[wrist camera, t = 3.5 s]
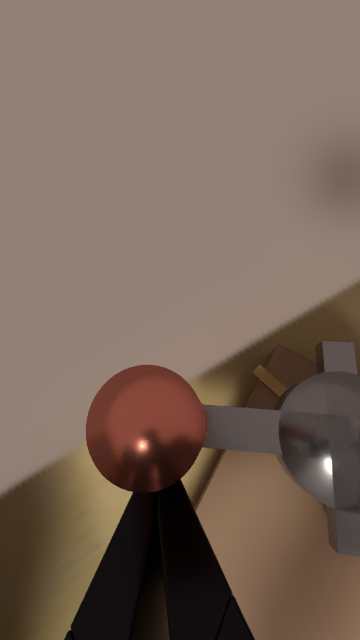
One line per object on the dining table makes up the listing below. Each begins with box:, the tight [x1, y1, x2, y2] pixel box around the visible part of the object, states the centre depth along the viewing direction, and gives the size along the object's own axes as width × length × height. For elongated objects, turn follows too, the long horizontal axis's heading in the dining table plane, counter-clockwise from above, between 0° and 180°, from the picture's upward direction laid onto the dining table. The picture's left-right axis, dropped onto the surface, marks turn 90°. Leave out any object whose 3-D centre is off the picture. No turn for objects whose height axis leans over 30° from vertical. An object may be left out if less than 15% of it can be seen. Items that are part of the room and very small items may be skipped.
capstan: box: [86, 341, 360, 557], centre depth 10 cm, size 12×8×10 cm
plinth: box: [194, 345, 360, 640], centre depth 13 cm, size 12×13×4 cm
